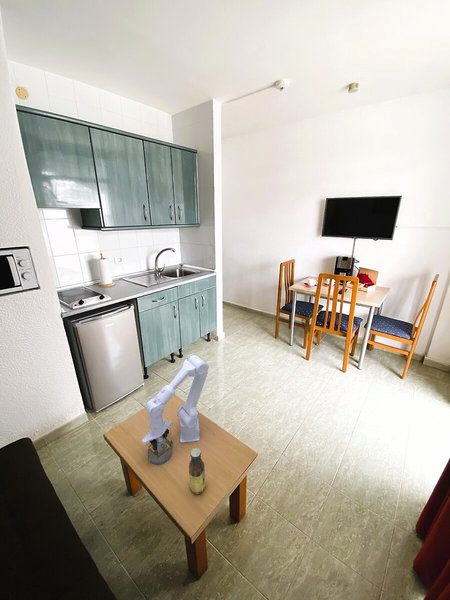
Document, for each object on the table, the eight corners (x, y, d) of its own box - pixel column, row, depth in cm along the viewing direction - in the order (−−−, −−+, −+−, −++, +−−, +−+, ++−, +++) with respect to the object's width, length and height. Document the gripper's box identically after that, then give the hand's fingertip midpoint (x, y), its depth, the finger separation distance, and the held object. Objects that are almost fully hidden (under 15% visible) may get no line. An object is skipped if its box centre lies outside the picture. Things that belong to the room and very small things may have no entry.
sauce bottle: (207, 492, 99) (205, 458, 92) (191, 497, 97) (189, 463, 90) (203, 476, 105) (202, 443, 97) (189, 480, 103) (186, 447, 96)
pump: (161, 442, 116) (160, 432, 113) (168, 449, 112) (167, 439, 110) (154, 448, 113) (152, 438, 110) (160, 456, 110) (159, 445, 107)
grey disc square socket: (165, 437, 122) (164, 430, 121) (179, 450, 116) (178, 444, 114) (143, 453, 114) (142, 447, 113) (157, 470, 107) (156, 463, 106)
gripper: (165, 408, 115) (167, 430, 120) (136, 428, 105) (140, 450, 110) (174, 417, 111) (176, 438, 116) (145, 438, 101) (149, 460, 106)
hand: (159, 445), depth 112 cm, fingers closed on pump, 4 cm apart
